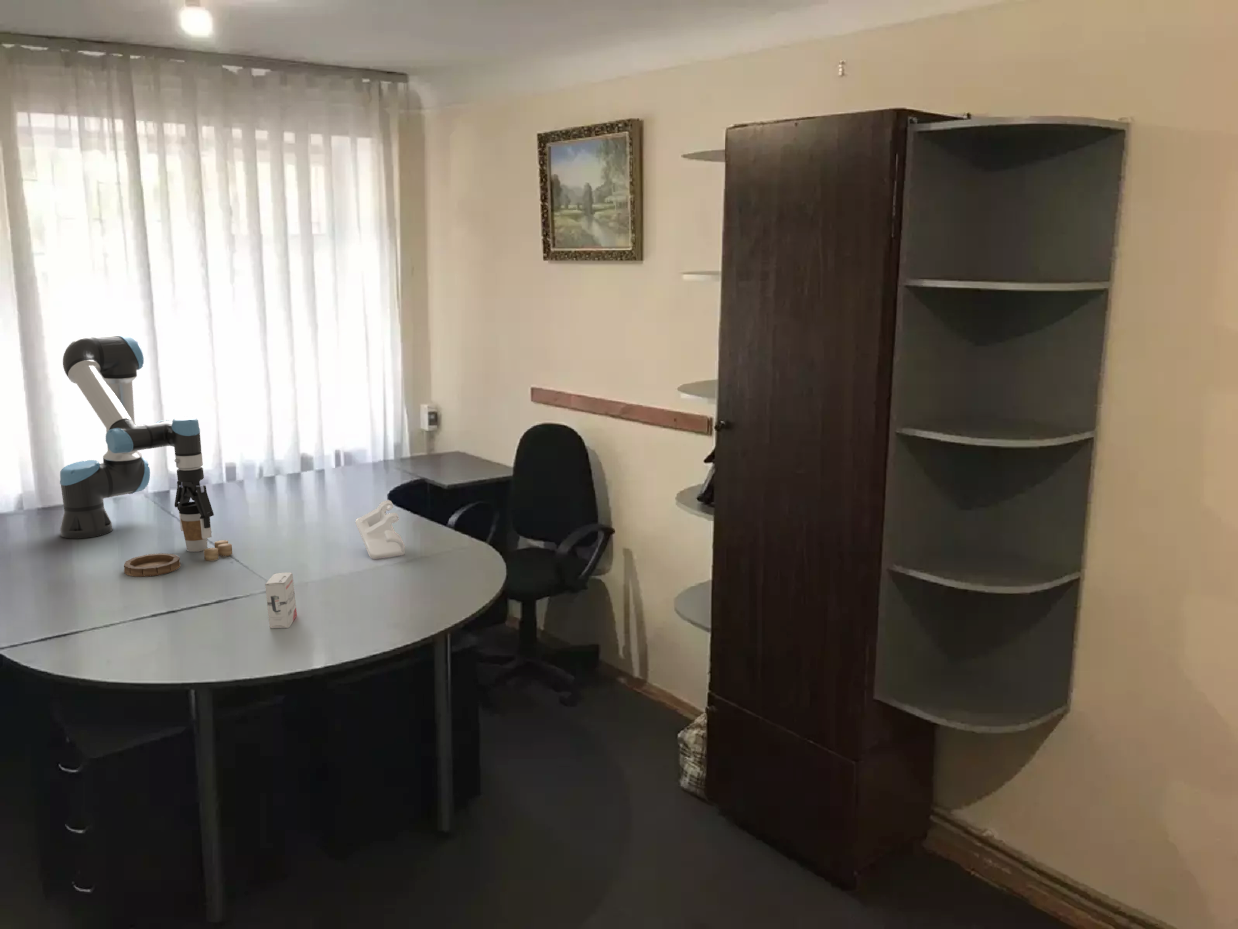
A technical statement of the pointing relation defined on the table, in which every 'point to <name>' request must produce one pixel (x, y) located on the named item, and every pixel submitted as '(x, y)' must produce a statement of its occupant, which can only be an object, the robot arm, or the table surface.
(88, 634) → the table surface
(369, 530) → the white angular bracket-shaped piece
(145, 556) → the round tray
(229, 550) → the bead
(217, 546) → the bead
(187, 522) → the coffee cup
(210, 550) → the bead
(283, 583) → the ink box
